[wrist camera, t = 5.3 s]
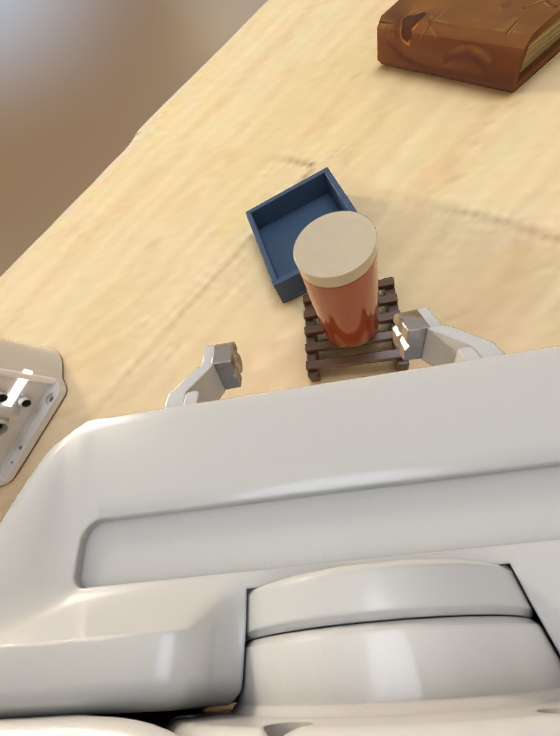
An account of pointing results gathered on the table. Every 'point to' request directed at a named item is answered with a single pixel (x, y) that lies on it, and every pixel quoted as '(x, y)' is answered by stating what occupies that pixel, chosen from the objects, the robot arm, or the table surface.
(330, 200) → the tray
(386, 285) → the drying rack
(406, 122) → the table surface
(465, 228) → the table surface
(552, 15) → the diary
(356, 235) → the cup
